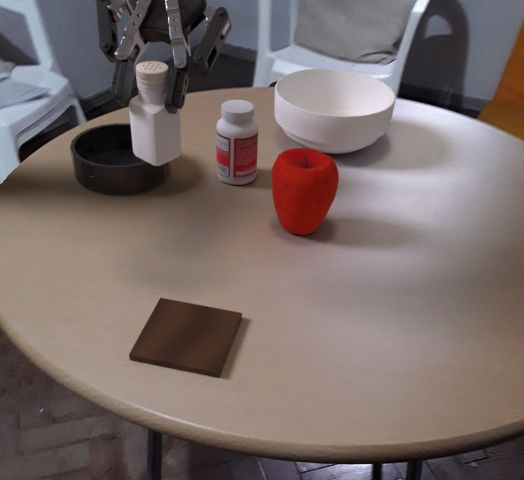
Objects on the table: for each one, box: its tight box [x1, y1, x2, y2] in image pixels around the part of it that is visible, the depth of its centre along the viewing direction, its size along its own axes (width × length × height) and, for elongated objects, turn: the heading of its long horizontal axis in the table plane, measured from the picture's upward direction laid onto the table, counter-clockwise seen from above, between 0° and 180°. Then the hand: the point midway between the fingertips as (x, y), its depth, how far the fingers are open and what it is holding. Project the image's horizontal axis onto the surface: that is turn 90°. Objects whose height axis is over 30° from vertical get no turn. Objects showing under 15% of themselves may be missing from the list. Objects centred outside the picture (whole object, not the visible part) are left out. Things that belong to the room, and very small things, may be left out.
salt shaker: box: [128, 60, 183, 166], centre depth 65 cm, size 4×4×10 cm
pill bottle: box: [215, 99, 259, 186], centre depth 93 cm, size 6×6×11 cm
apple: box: [271, 147, 340, 236], centre depth 84 cm, size 9×9×11 cm
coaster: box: [128, 297, 243, 378], centre depth 70 cm, size 10×10×1 cm
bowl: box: [274, 67, 397, 155], centre depth 105 cm, size 20×20×8 cm
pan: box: [69, 122, 170, 196], centre depth 95 cm, size 14×14×4 cm
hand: (145, 106), depth 62 cm, fingers closed on salt shaker, 4 cm apart
